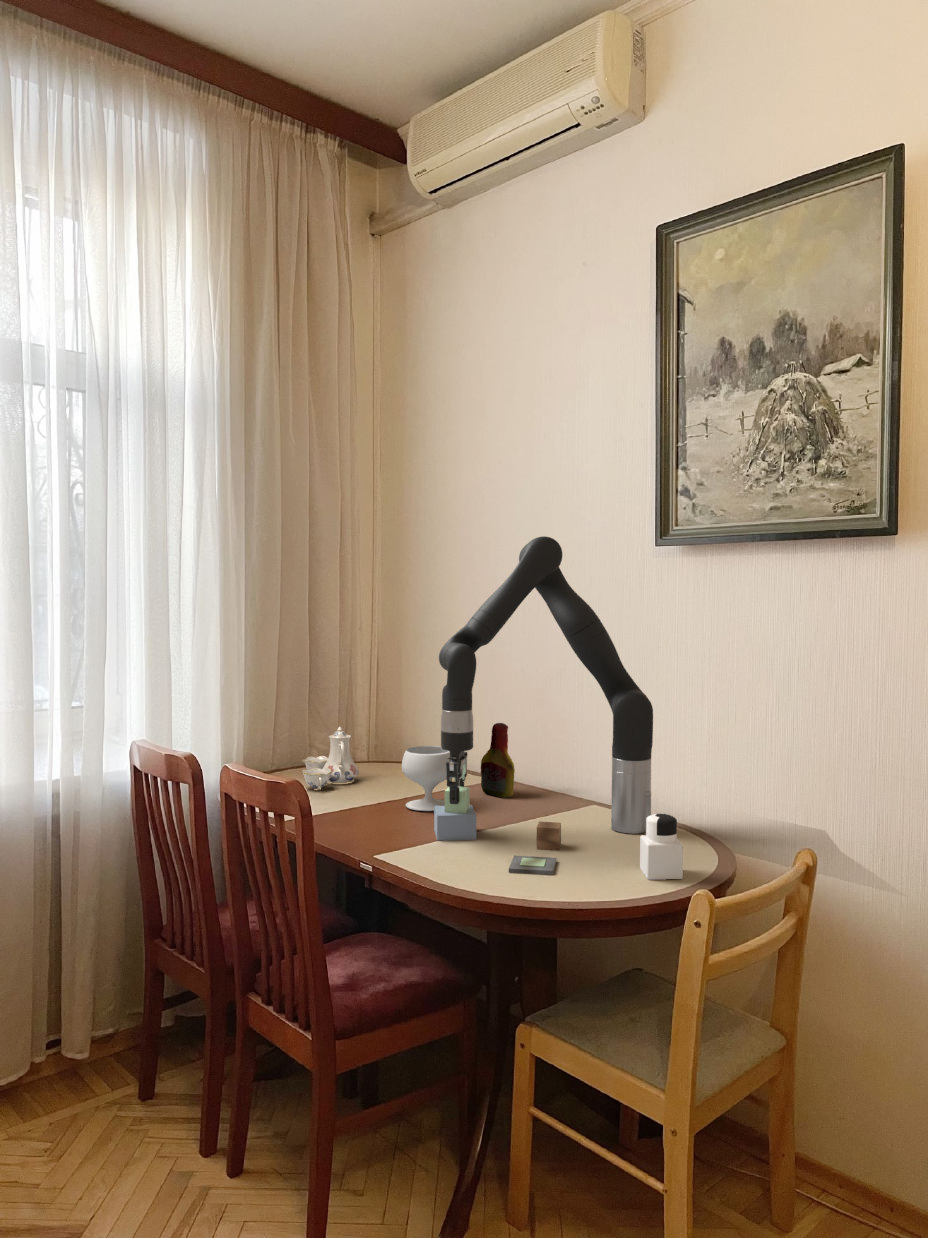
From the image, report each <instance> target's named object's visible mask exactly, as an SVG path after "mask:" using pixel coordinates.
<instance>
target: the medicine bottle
mask: <svg viewBox="0 0 928 1238" xmlns="http://www.w3.org/2000/svg"><path fill="white" fill-rule="evenodd" d="M677 825H678V820H677V818H676V817H675V816H673V815H670V814H667V813H654V814H651V815H650V816H648V817H647V818H646V833H645V834H644V835H643V834H642V835H640V838H639V840H640V841H639V842H640V843H639V869H640V871H641V872H642V874H643V876H644V877H645V878H646V879H647V880H648V881H650V880H651V881H653V880H654V881H659V880H660V881H662V880H665V881H667V880H666V879H681V880H683V876H684V875H683V874H684V873H683V871H684V868H683V867H684V845H683V844H682V843H681V841H680V840H679V839H678V838H677V836H678V834H677V833H678V832H677V831H678V829H677V828H678V826H677Z"/></svg>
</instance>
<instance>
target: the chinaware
mask: <svg viewBox="0 0 928 1238" xmlns="http://www.w3.org/2000/svg"><path fill="white" fill-rule="evenodd" d="M336 730H337V731H335V732H334V733H333V734H331V735H328V739H329V742H330V743H329V745H330V748H329V754H328V757H327V756H325V755H319V756H317V757H314V756H307V757H306V758H305V759H304V758H303V759H302V762H304V764H305V767H306V769H302V770H301V774H302V775H303V777H304V780H305V783H306V784H307V785H308V786H309V787H311V788H312V789H318V790H317V791H321V790H320V788H323V787H325V786H326V785H328V784H327V783H328V782H332V783H347V782H353V781H354V782H355V778H356V777H357V776H358V775H359V773H360V771H359V768H358V766H357V765H356V763H355V761H354V760H353V757H352V755H351V749H350V740H351V737H352V735H350V734H347V733H346V732H345V731H344V730H343V728H342V727H341V726H339V727H338V728H337V729H336Z"/></svg>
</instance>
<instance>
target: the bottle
mask: <svg viewBox="0 0 928 1238" xmlns="http://www.w3.org/2000/svg"><path fill="white" fill-rule="evenodd" d="M508 730H509V726H508V725H507V724H505V723H503V722H497V723H494V724H493V725H492V728H491V736H490V737H491V738H490V747H489V749H488V750H487V751H486V753H485V754H483V756H482V758H481V760H480V777H481V779H480V786H481V789H482V791H483V793H485V794H486V795H487V794H488V795H491V796H495V797H498V798H504V799H505V798H510V797H512V796H513V794H514V785H515V770H516V769H515V764H514V762H513V758H511V756H510V755H509V752H508V751H509V750H508V748H509V736H508V735H509V734H508Z"/></svg>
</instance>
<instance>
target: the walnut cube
mask: <svg viewBox="0 0 928 1238" xmlns="http://www.w3.org/2000/svg"><path fill="white" fill-rule="evenodd" d="M561 845H562V822H557V821H554V822H553V821H538V823H537V825H536V850H537V851H538V850H542V851H555V852H556V851H557V852H559V851H560V849H561Z"/></svg>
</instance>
